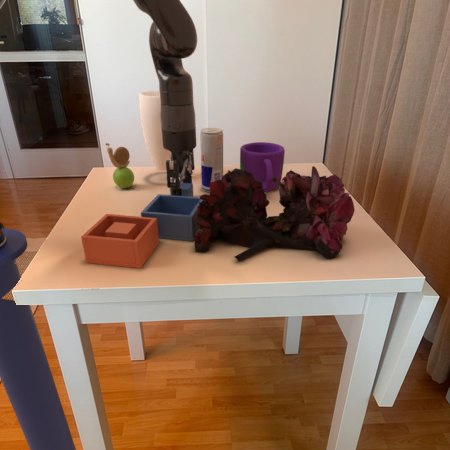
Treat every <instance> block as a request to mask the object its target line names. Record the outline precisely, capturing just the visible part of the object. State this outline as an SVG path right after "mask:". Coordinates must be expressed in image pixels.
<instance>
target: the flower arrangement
mask: <svg viewBox="0 0 450 450" xmlns="http://www.w3.org/2000/svg"><path fill="white" fill-rule="evenodd" d="M311 166H312V167H311V176H310V175H302V174H300V173H298V172H295V171H293V170H292V169H290V170H289V171H287V172H286V173H285V176H284V177H282V178H281V181H280V180H279V179H278V178H276V177H272V181H273V182H276V183H277V185H278V195H279V200H278V202H279V204H280V205H281V206H282V207H283V209H282V212H280V213H279V214H278V215H271V216H268V212H267V211H268V210H267V206H269V205H270V201H269V199H268V198H267V194H266V192H265V191H263V190H261V187H262V182H261V181H255V179H254V177H253V175H252V173H249V172H246V171H245V170H242V169H240V168H237V167H235V168H234V169H232V170H227V173H225V174H223V177H222V179H221V180H216V181H214V182H210V183H209V187H210V192H209V194H207V193H206V194H201V195H200V196H199V197H200V199H201V200H203V201H202V202H199V201H198V202H199V206H198V207H197V218H196V219H195V220H194V221H195V223H196V224H197V226H200V227H199V228H200V230H199V231H200V232H198V233H197V235H195V239H194V251H195V252H196V253H206V252H208V251H209V250H210V243H211V242H214V241H218V240H219V241H223V242H226V243H227V244H229V245H235V246H240V247H245V248H248V249H246V250H244V251H242V252H240V253H238V254H237V255H235V256H234V259H236V260H237V262H240V261H242V260H243V259H245V258H247V257H249V256H250V255H253V254H254V253H257V252H259V251H261V250H262V249H265V248H283V249H293V250H306V251H315V252H316V253H317V254H321V256H322V257H323V258H325V259H326V260H330V259H335V258H337V256H338V255H339V254H340V253H341V251H342V249H343V244H342V241H343V240H344V237H345V236H346V234H347V231H348V224H349V223H350V222H351V221H352V219H353V216H354V215H355V211H356V210H355V204H354V200H353V198H352V196H351V195H350V192H345V191H346V188H345V183H343V181H342V178H341V177H339V176H338V175H337V174H332V175H329V176H327V175H322V176H320V174H319V170H318V169H317V167H316V166H315V165H314V166H313V165H311Z"/></svg>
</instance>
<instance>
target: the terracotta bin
mask: <svg viewBox="0 0 450 450" xmlns="http://www.w3.org/2000/svg"><path fill="white" fill-rule="evenodd" d="M114 222H120V223H131V224H136V226H137V234H138V236H137V238H136V239H135V240H131V239H121V238H110V237H106V234H105V231H106V230H107V229H108V228H109V227H110V226H111V225H112V224H113V223H114ZM80 239H81V243H82V248H83V253H84V258H85V262H86V263H87V264H95V265H96V264H97V265H105V266H106V265H107V266H115V267H116V266H117V267H126V268H132V269H133V268H135V269H141V268H142V267H143V265H144V264H145V263H146V261H147V260H148V259H149V257H150V256H151V254H152V253H153V252H154V251H155V249H156V248H157V247H158V245H159V244H160V238H159V235H158V224H157V218H149V217H141V216H139V215H138V216H137V215H136V216H135V215H124V214H114V213H106V214H104V215H103V216H102V217H101V218H100V219H99V220H97V222H96V223H94V224H93V225H92V226H91V227H90V228H89V229H87V231H86V232H84V233H83V234H82V235H81V237H80Z"/></svg>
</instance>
